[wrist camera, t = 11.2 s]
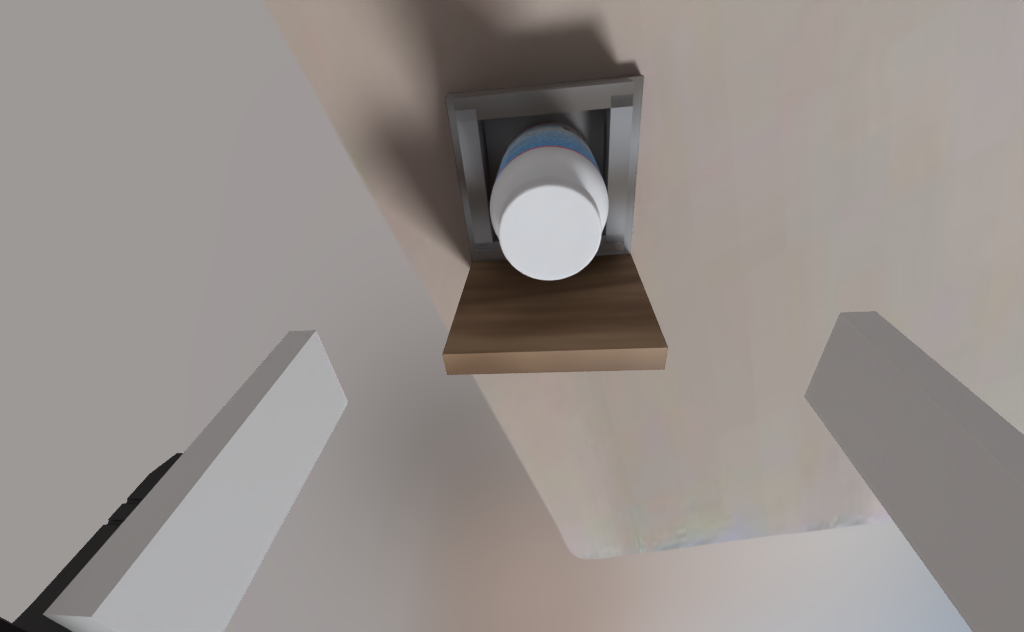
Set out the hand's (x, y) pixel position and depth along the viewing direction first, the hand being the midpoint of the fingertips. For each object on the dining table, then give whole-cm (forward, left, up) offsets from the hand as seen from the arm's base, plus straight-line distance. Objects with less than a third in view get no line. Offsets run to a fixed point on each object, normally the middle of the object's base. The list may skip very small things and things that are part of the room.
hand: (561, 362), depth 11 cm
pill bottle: (0, 0, -20) cm, 20 cm away
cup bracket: (+2, 0, -21) cm, 21 cm away
